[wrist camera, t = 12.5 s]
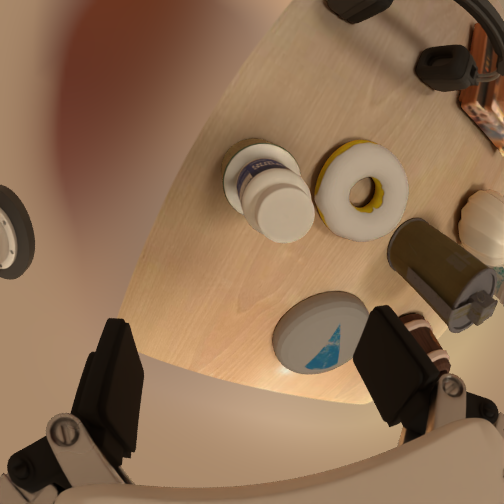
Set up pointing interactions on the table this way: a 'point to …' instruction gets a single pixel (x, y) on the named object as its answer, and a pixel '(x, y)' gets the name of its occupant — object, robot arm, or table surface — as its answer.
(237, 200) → the tin can
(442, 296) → the canister
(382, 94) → the table surface
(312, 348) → the frisbee
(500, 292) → the bottle
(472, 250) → the vase
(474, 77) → the headphones
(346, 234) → the donut
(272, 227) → the pill bottle
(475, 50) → the book
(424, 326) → the mug
